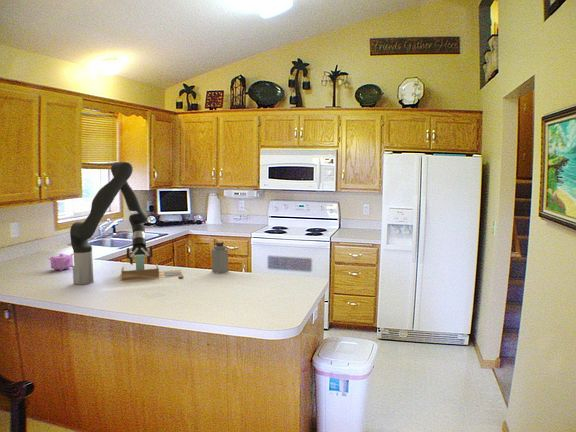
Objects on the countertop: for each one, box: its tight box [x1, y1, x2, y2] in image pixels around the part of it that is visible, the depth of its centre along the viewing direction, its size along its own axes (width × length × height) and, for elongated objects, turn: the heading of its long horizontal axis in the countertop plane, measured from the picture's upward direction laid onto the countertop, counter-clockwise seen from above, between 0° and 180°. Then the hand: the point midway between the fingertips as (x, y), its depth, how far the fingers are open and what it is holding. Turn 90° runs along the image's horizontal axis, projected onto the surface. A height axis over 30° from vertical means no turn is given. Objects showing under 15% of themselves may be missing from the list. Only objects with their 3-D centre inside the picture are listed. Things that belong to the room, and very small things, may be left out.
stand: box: [119, 263, 184, 282], centre depth 255 cm, size 16×34×6 cm, turn 109°
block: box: [135, 254, 145, 270], centre depth 252 cm, size 4×4×12 cm
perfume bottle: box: [211, 241, 229, 274], centre depth 268 cm, size 7×7×18 cm
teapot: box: [47, 252, 74, 272], centre depth 274 cm, size 18×13×10 cm
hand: (140, 263), depth 253 cm, fingers open, 8 cm apart
